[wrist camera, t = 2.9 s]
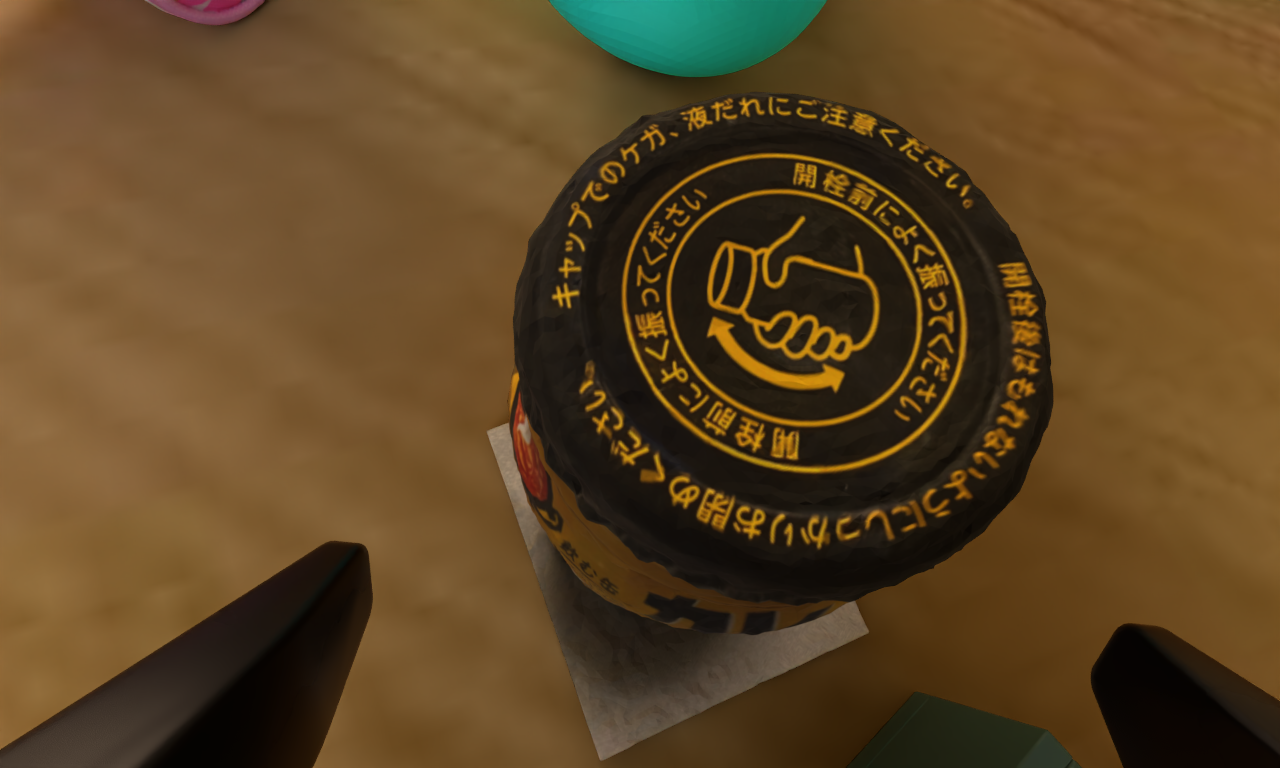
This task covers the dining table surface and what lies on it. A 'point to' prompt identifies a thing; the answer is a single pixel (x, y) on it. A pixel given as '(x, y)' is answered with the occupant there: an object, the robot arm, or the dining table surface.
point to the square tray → (959, 740)
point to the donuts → (690, 31)
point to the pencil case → (208, 9)
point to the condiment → (758, 394)
